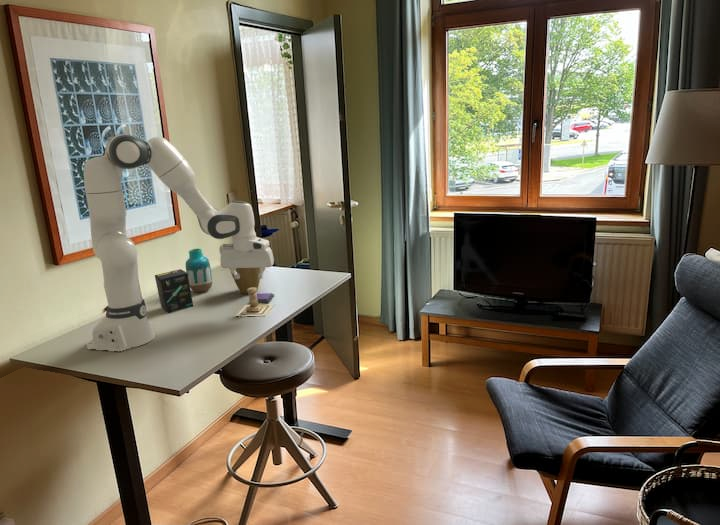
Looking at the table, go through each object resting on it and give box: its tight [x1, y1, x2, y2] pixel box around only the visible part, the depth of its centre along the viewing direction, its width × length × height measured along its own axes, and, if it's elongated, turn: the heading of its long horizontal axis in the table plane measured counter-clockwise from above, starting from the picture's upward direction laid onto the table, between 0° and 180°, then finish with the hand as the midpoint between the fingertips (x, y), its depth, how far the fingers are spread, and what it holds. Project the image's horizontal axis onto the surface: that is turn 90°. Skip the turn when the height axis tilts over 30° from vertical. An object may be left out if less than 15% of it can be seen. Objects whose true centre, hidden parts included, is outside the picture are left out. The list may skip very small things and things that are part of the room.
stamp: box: [246, 287, 264, 313], centre depth 203 cm, size 5×5×9 cm
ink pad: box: [248, 292, 275, 304], centre depth 216 cm, size 8×8×2 cm
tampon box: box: [154, 268, 194, 314], centre depth 215 cm, size 11×9×15 cm
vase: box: [185, 248, 213, 293], centre depth 233 cm, size 11×11×19 cm
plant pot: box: [229, 268, 262, 294], centre depth 228 cm, size 15×15×16 cm
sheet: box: [235, 303, 275, 318], centre depth 205 cm, size 12×12×1 cm
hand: (249, 278), depth 201 cm, fingers open, 8 cm apart
